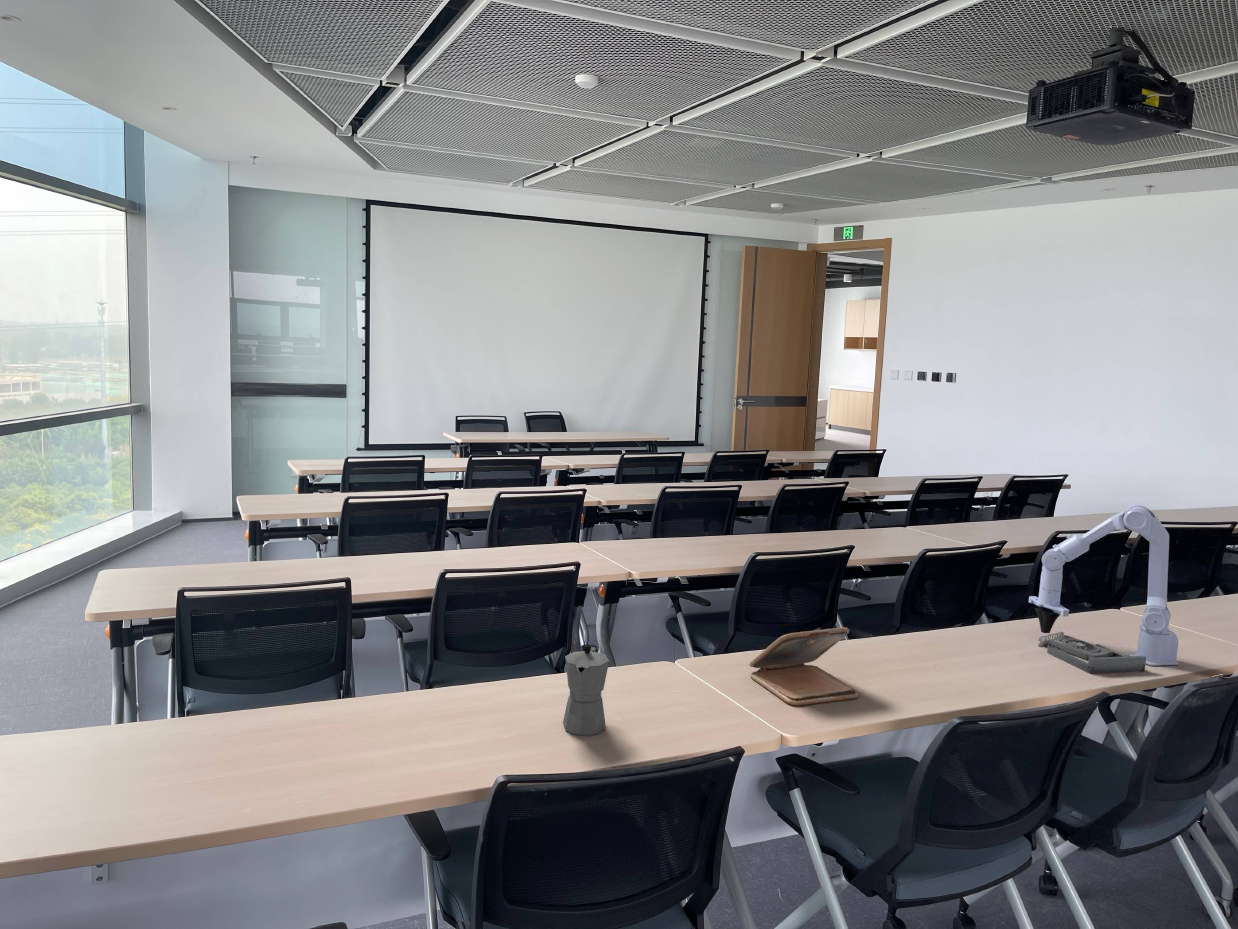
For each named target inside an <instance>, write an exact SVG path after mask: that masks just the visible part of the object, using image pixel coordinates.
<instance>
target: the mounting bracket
mask: <svg viewBox="0 0 1238 929" xmlns="http://www.w3.org/2000/svg"><path fill="white" fill-rule="evenodd" d="M1095 645H1096V646H1099V647H1102V648H1105V649H1108V650H1110V651H1113V655H1112V656H1108V657H1099V658H1089V659H1087V660H1088V661H1085V660H1082V659H1081V658H1079V657H1077V656H1075V655H1072V654H1069V653H1066V652H1063V651H1061V650H1060V648H1058V649H1057V648H1055V647H1053V646H1051V645H1050V646H1047V651H1046V652H1047V654H1049V655H1051V656H1053V657H1055V658H1057V659H1059V660H1062V661H1063V662H1065V663H1068V664H1070V665H1072V666H1074V667H1075V668H1078V669H1079V670H1081V671H1083V672H1086V673H1088V674H1091V675H1092V674H1093V675H1095V674H1096V675H1097V674H1098V675H1099V674H1115V673H1117V674H1118V673H1119V674H1120V673H1136V672H1137V673H1139V672H1140V673H1141V672H1142V673H1143V672H1145V670H1146V665H1147V664H1146V657H1144V656H1129V655H1128V656H1127V655H1125V654H1123V653H1120V652H1119V651H1116V650H1113V649H1111V648H1109V647H1106V646H1104V645H1102V644H1100V643H1096V644H1095Z"/></svg>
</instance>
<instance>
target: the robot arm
mask: <svg viewBox="0 0 1238 929" xmlns="http://www.w3.org/2000/svg"><path fill="white" fill-rule="evenodd" d="M1127 529H1129V530H1130V531H1132V532H1135V533H1137V534H1139V535H1140V536H1141V537H1143V538H1145V540H1147V541H1148V542H1149V551H1148V553H1149V554H1148V577H1147V598H1146V599H1147V600H1146V608H1145V610H1144V612H1143V613H1144V614H1143V616H1142V617H1141V623H1142V624H1141V625H1139V632H1138V639H1137V648H1136V653H1129V654H1128V656H1144V657H1146V665H1149V666H1150V667H1151V666H1155V667H1156V666H1177V665H1179V662H1177V659H1178V658H1177V657H1178V649H1179V638H1178V635H1177V634H1176V633H1175V632H1174V631H1172V630H1170V629H1169V625H1170V620H1171V613H1170V610H1169V608H1168V577H1169V576H1168V575H1169V574H1168V573H1169V553H1170V552H1169V550H1170V533H1169V532H1168V530H1167V529H1166V528H1165V526H1164V525H1163V524H1162V522H1161V520H1159V518H1158V516H1157V514H1156V513H1154V512H1153V511H1152V510H1150V508H1148V507H1146V506H1143V505H1133V506H1131V507H1130V508H1128V510H1127V509H1126V510H1123V511H1120V512H1118V513H1116V514H1114V515H1112V516H1110V517H1109V518H1107V519H1105V520H1104V521H1102V522H1101V523H1100V524H1098V525H1097V526H1095V527H1094V528H1092V529H1091V530H1089V531H1087V532H1085V533H1084V534H1078V533H1075V534H1073V535H1072V534H1069V535H1067V536H1066V539H1065V540H1063V541H1062V542H1060V543H1059V544H1054V545H1052V548H1050V549H1048V550H1046V551H1045V552H1044V553H1043V555H1042V557H1041V563H1042V567H1041V574H1040V579H1039V580H1040V583H1039V592H1038V596H1035V595H1030V596H1029V597H1028V603H1029V604H1034V605H1036V606H1038V607H1035V608H1034V612H1035V613H1036V615H1037V618H1038V621H1039V626H1040V628H1039V629H1040V632H1041V633H1043V634H1050V633H1051V631H1052V628H1053V626H1054V624H1055V623H1056V621H1057V619H1058V618H1059V617H1060V616H1061V617H1069V616H1070V615H1069V614H1070V609H1068V608H1066V607H1064V606H1063V605H1061V596H1062V595H1061V593H1062V583H1063V570H1064V569H1063V568H1064V567H1063V566H1064V565H1065V564H1066V563H1067V562H1071V561H1073V560H1075V559H1077V558H1079V556H1081V555H1083V554H1084V553H1087V552H1088V551H1090V546H1091V544H1092V543H1094V542H1096V541H1098V540H1100V539H1101V538H1103V537H1105V536H1107V535H1109V534H1111V533H1112V532H1114V531H1126V530H1127Z"/></svg>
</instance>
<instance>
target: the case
mask: <svg viewBox="0 0 1238 929" xmlns="http://www.w3.org/2000/svg"><path fill="white" fill-rule="evenodd" d="M849 633H850V629H849V628H848V627H845V626H843V627H835V628H826V629H817V630H810V631H809V630H808V631H800V632H791V633H787V634H783V635H782V636H779V637H778V638H777V639H776V640H774V641H773V642H772V643H771V644H770V645H768V646H767V647H766V648H765V649H764V650H763V651H762V652H760V653H759V654H758V655H757V656H756V657H755V658H754V659H752V660H751V661H750V662H749V664H748V665H749V667H750V668H755V669H758V670H757V671H752V672H751V673H750V674H749V675H750V678H751V679H752V680H754V681H755V682H756V683H758V684H759V685H760V686H762V687H763V688H765V689H766V690H768V691H769V692H770V693H772V694H774V696H777V698H779V699H780V700H782V702H784V703H786V704H788V705H791V706H807V705H814V704H823V703H829V702H830V703H831V702H839V701H848V700H854V699H857V698H858V697H859V693H858V692H857V691H856V690H855V689H854V688H853V687H851V686H849V685H848V684H846V683H844V682H843V681H841V680H840V679H838V678H837V677H835V676H834V675H832V674H831V673H828V672H827V671H826V670H823V669H822V668H820V667H818V666H816V665H812V664H809V663H812V662H813V663H814V661H816V660H818V659H819V658H820V657H822V656H824V654H826V653H827V652H828V651H830V649H832V648H833V647H834V646H836V644H838V643H839V642H840V641H841V640H843V639H844V638H845V637H846V636H848V634H849Z"/></svg>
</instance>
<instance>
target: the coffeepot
mask: <svg viewBox="0 0 1238 929" xmlns="http://www.w3.org/2000/svg"><path fill="white" fill-rule="evenodd" d="M583 649H584V650H583V651H581V650H580V651H573V652H571V653H569V654H567V655H565V656H564V658H565V668H566V676H567V687H568V689H569V695H568V698H567V701H566V707H565V710H564V715H563V720H562V723H563V724H562V725H563V728H564V730H565V731H566V732H568V733H569V734H572V735H576V736H586V737H587V736H594V735H598V734H601V733H602V732H603V731H604V730H605V729H606V727H607V726H606V725H607V724H606V719H605V710H604V709H605V708H604V702H603V698H602V691H604V689H605V685H606V680H607V679H606V678H607V675H608V674H607V673H608V668H609V665H610V664H609V663H610V660H609V658H608V656H607V655H606V654H604V653H600V652H598V647H597V645H596V644H584V645H583Z"/></svg>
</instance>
